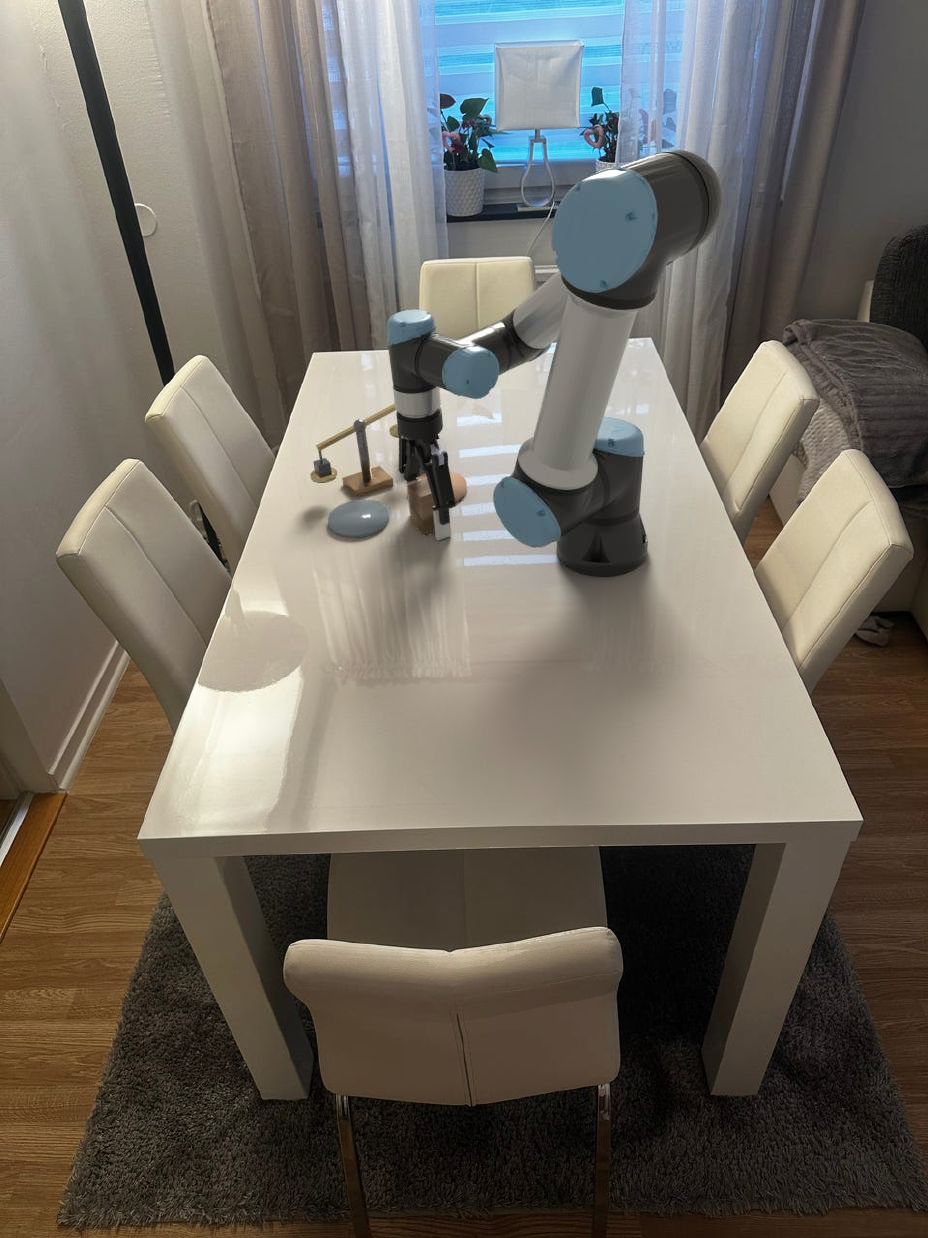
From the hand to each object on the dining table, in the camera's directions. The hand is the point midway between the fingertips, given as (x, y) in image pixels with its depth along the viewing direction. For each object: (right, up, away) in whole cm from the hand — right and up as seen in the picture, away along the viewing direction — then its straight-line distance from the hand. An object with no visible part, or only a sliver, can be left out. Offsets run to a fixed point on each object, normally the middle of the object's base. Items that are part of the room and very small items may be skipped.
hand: (430, 524), depth 160 cm
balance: (-12, +9, +13) cm, 20 cm away
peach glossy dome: (+1, +7, +10) cm, 12 cm away
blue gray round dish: (-13, +1, +3) cm, 13 cm away
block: (0, 0, 0) cm, 0 cm away
